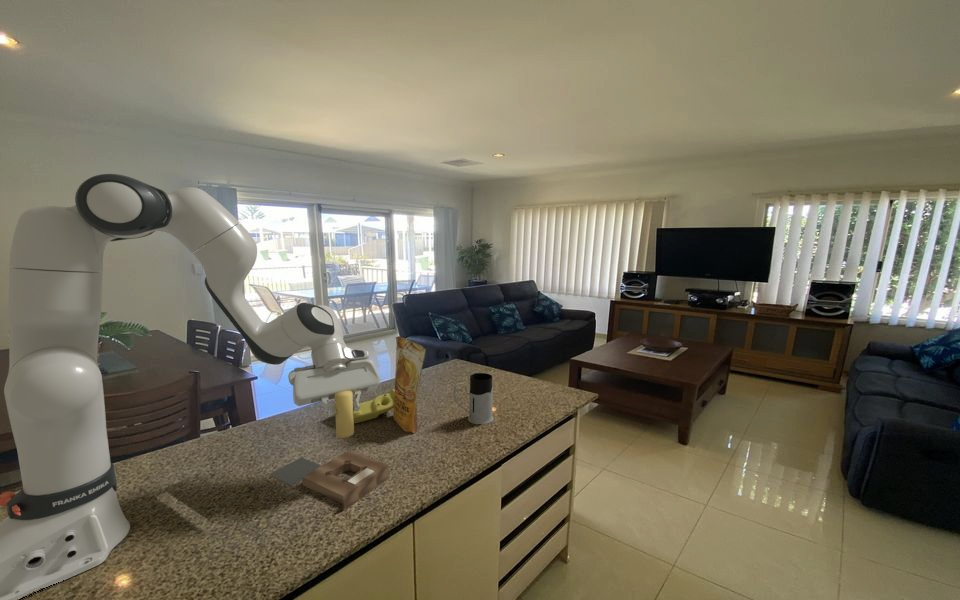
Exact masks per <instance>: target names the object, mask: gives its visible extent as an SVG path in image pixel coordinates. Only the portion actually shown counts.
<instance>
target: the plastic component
mask: <svg viewBox="0 0 960 600" xmlns="http://www.w3.org/2000/svg"><path fill="white" fill-rule="evenodd" d="M394 393H395V388H393V389H390V390H389V392H387V393H383V394H380V395H378V396H376V397H375V398H374V399H372V400H368V401H367V400H366V401H364V402H359V405H360V409H359V410H356V411H353V420H354V423H355V424H359V423H362V422H366V421H369V420H374V419H377V418H378V417H379V415H382V414H385V412H386V413H388V412H389V411H392V410H393V409H394Z"/></svg>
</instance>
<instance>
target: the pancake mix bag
mask: <svg viewBox="0 0 960 600" xmlns="http://www.w3.org/2000/svg"><path fill="white" fill-rule="evenodd" d="M395 340H396V344H395V345H396V347H395V348H396V352H395V353H396V354H395V374H394V376H395V379H394V380H395V382H394V389H395V393H394V408H393V409H392V410H393V412H392V413H393V420H394V422H395V421H396V424H397V425H398V426H399V427H400V428H401V429H402V430H403V432H405V433H412V434H415V433H416V432H417V431H418V422H417V421H418V413H417V411H418V408H417V406H418V405H417V402H418V401H417V400H418V399H417V398H418V393H419V386H420V383H421V376H422V373H423V372H422V371H423V367H424V363H425V358H426V351H427V350H426V348H425V346H423V345H422V344H419V343H418V342H414V341H412V340H411V339H408V338H406V337H404V336H403V337H402V336H400V335H397V336H396V337H395Z"/></svg>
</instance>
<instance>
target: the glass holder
mask: <svg viewBox="0 0 960 600" xmlns="http://www.w3.org/2000/svg"><path fill="white" fill-rule="evenodd" d="M460 385H462V386H464V390H465V391H464V393H465V394H466V395H468V396H469V399H468V400H469V403H468V404H469V407H468V409H469V410H468V409H466V408H464V406H462V405H461V404H460V403H459V401H458V400H457V397H456V390H457V387H458V386H460ZM493 387H494V386H493V375H491V374H489V373H485V372H477V373H472V374H470V376H469V390H468V389H467V385H466V384H465V383H463V382H459V383H457V384H455V386H454V388H453V397H454V400H455V402H456V404H457V405H458V407H460V408H461V409H462V410H464V411H465V412H467V413H468V417H467V420H468V422H469V423H471V424H473V425H478V424H484V425H488V423H489V424H491V423H493V422H494V416H493V396H494V395H493V391H494V390H493ZM467 390H468V391H469V393H468V391H467ZM490 422H491V423H490Z"/></svg>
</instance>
